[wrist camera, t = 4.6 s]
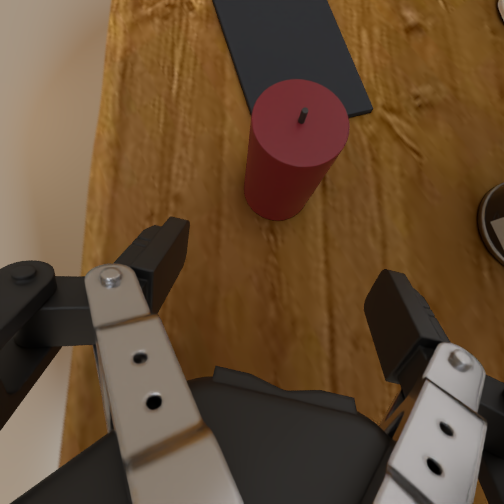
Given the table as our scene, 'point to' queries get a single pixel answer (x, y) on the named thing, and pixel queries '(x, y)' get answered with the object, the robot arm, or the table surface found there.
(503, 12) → the cherub figurine
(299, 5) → the mat
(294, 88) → the candle
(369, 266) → the table surface
